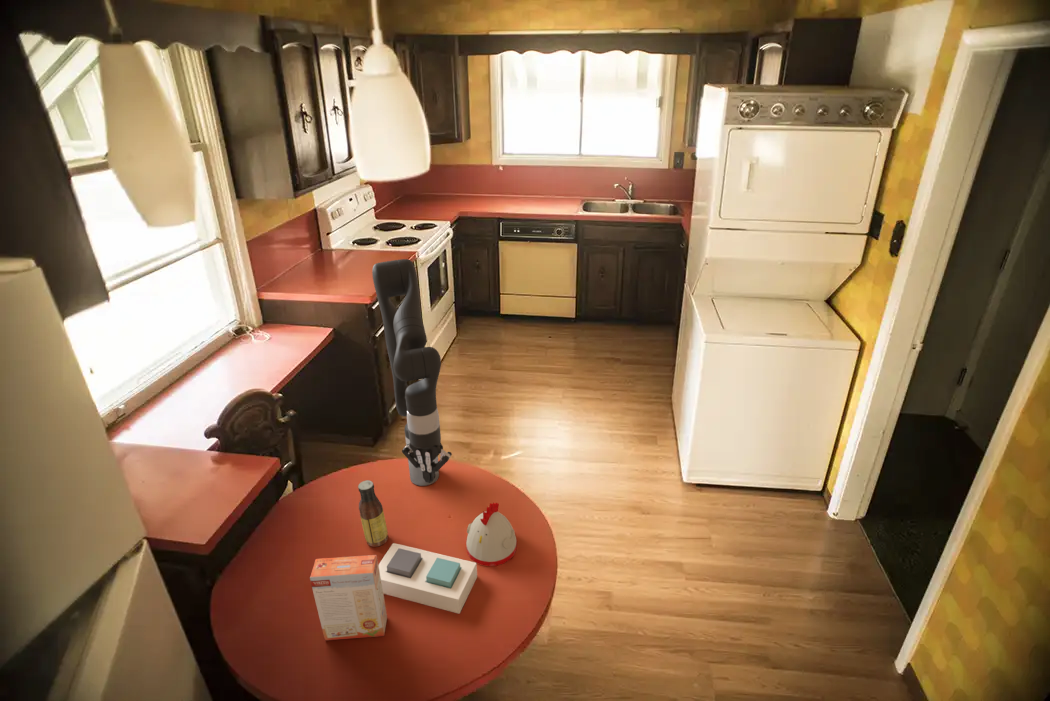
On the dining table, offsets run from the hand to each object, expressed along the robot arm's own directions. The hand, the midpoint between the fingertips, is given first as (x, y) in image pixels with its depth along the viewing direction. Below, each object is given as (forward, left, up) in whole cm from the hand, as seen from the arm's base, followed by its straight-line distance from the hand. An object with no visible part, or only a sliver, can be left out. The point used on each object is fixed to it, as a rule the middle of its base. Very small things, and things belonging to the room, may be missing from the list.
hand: (429, 480), depth 151 cm
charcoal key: (+9, -5, -24) cm, 26 cm away
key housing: (+9, +1, -27) cm, 28 cm away
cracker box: (+26, -9, -27) cm, 38 cm away
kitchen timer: (-8, +13, -27) cm, 31 cm away
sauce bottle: (-1, -19, -27) cm, 33 cm away
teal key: (+9, +6, -24) cm, 26 cm away
